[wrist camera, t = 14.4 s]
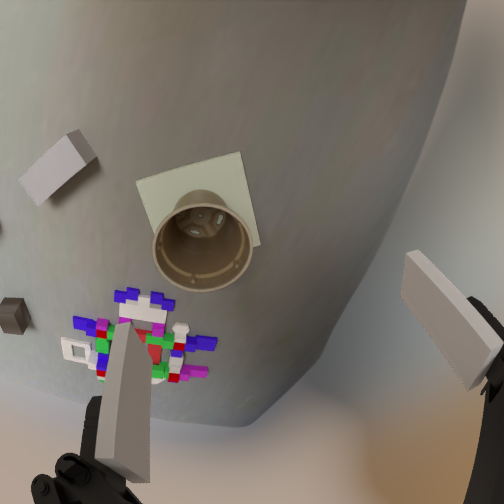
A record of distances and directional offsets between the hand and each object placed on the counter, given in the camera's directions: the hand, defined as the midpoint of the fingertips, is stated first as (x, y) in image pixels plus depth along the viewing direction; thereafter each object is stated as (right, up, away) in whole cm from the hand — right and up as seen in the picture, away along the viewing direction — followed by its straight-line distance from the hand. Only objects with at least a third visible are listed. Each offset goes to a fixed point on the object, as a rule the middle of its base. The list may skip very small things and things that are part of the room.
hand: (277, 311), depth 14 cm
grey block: (-23, +13, +17) cm, 31 cm away
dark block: (-38, -6, +25) cm, 46 cm away
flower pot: (-7, +7, +22) cm, 25 cm away
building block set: (-19, -11, +32) cm, 39 cm away
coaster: (-7, +7, +23) cm, 25 cm away
